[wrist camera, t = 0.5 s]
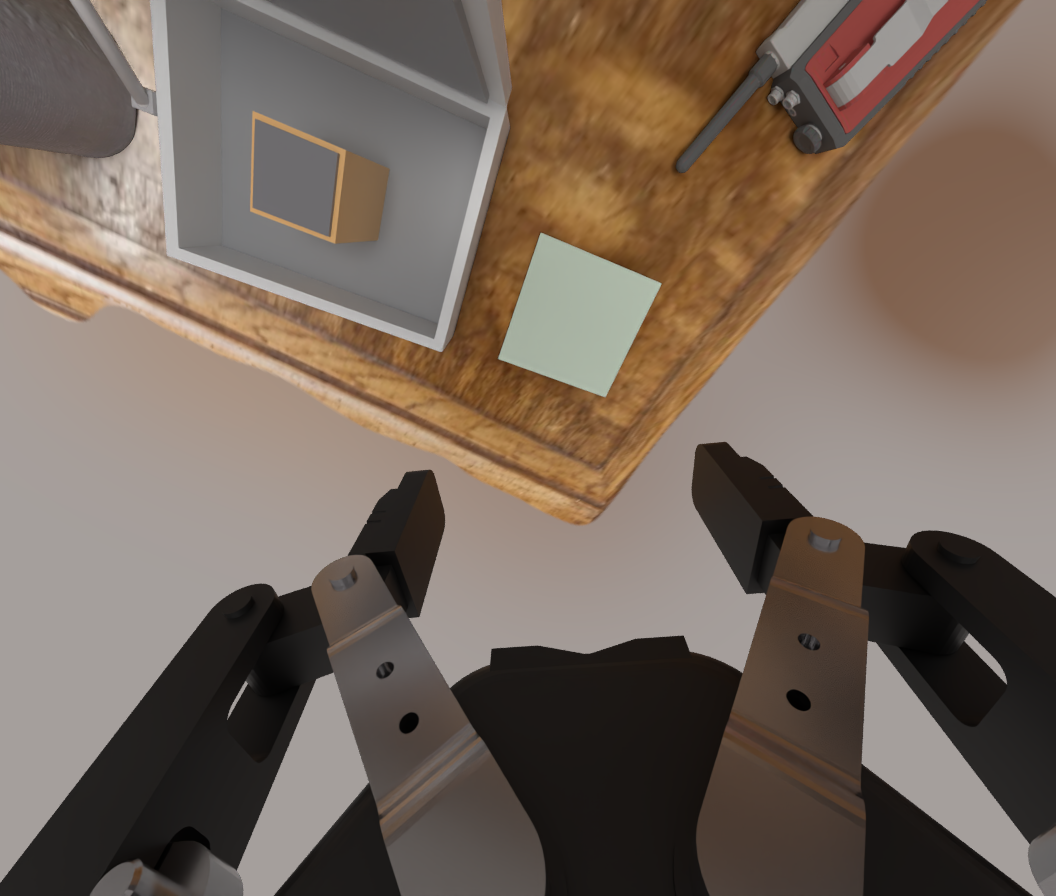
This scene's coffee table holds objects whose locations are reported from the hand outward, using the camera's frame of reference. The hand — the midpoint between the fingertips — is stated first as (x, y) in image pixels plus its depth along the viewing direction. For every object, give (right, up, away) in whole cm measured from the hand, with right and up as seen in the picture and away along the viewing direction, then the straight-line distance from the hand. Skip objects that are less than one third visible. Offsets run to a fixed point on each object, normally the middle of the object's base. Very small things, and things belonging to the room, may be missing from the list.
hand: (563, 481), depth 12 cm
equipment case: (-15, +22, +18) cm, 32 cm away
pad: (+3, +12, +23) cm, 27 cm away
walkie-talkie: (+19, +27, +16) cm, 37 cm away
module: (-15, +20, +18) cm, 31 cm away
